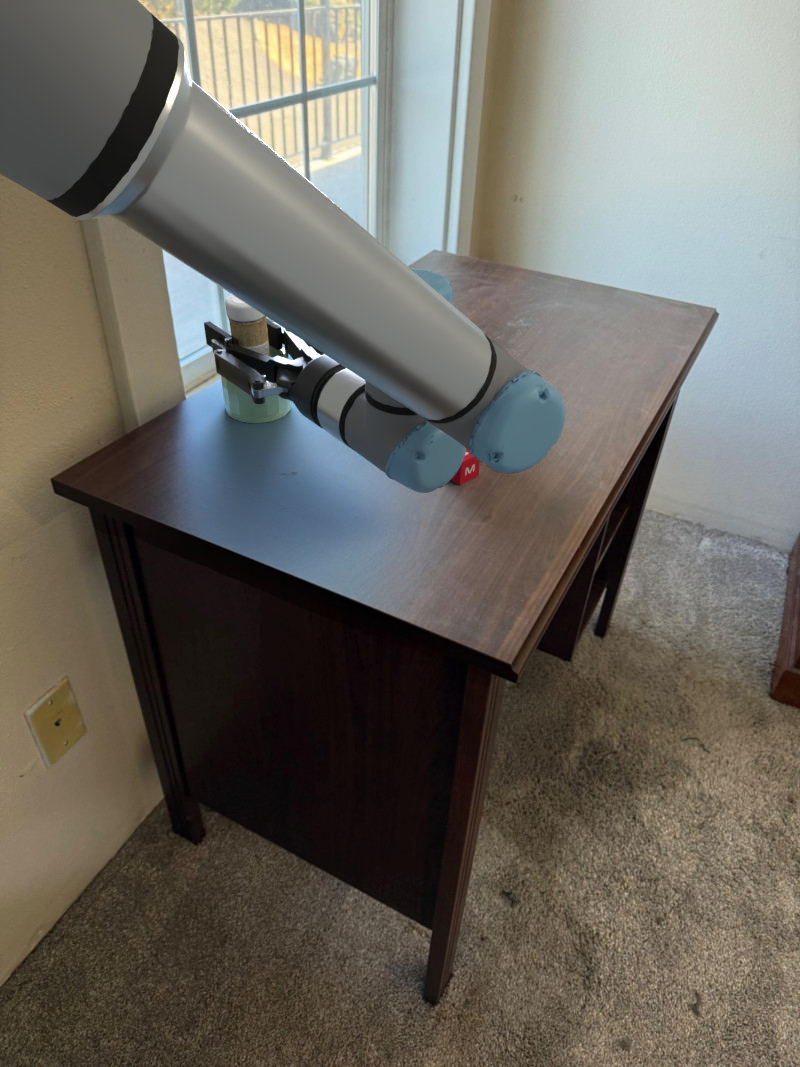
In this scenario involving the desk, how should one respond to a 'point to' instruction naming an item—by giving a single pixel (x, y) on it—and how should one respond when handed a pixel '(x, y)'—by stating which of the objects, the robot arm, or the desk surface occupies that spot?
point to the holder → (245, 408)
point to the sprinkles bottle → (247, 325)
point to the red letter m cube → (467, 469)
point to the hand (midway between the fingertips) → (230, 327)
